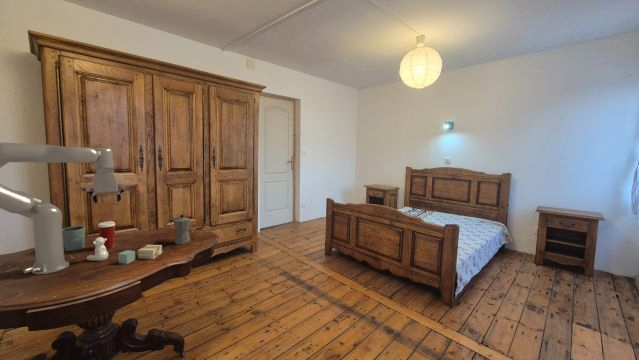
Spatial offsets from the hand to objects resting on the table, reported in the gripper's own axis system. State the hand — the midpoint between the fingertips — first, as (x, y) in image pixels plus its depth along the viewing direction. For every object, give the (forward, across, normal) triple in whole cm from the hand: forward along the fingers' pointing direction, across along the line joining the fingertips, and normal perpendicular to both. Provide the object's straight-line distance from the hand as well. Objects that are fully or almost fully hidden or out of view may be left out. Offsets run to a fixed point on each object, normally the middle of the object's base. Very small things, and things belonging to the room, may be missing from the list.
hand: (107, 202), depth 144 cm
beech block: (+30, +18, -12) cm, 37 cm away
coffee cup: (+30, -3, +13) cm, 33 cm away
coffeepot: (+30, +36, +4) cm, 47 cm away
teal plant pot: (+30, -19, +20) cm, 41 cm away
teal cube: (+30, +8, -16) cm, 35 cm away
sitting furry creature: (+30, -4, -5) cm, 30 cm away
